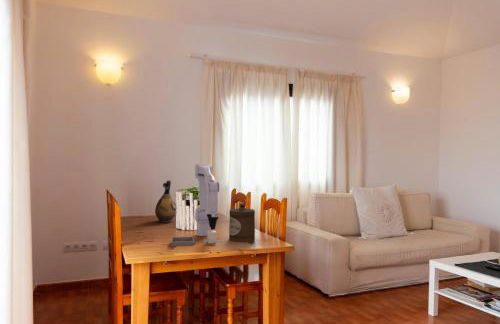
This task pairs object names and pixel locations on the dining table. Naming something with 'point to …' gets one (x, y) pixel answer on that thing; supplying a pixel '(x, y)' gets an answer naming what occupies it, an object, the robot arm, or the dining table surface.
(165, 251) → the dining table surface
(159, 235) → the dining table surface
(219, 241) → the stud block
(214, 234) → the block
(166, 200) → the ceramic jug
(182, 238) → the bin
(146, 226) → the dining table surface
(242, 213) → the wooden container
